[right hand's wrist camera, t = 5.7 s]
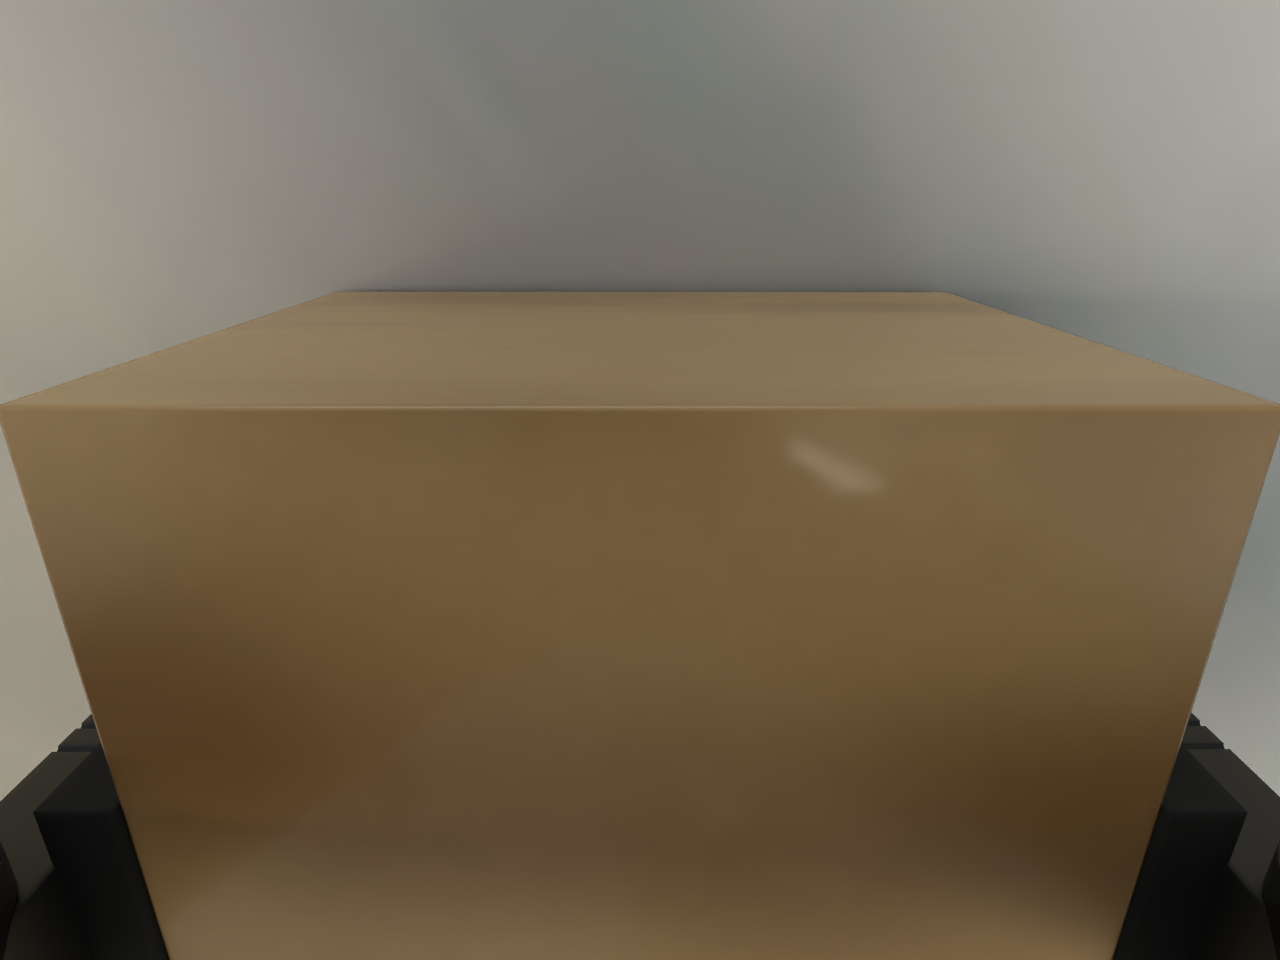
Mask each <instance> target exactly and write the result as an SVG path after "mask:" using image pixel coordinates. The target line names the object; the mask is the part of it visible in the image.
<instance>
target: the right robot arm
mask: <svg viewBox="0 0 1280 960" xmlns="http://www.w3.org/2000/svg"><path fill="white" fill-rule="evenodd" d="M1223 744H1224V743H1223V742H1221V741H1220V740H1219V739H1218V738H1217V737H1216V736H1215V735H1214V734H1213V733H1212V732H1211V731H1210V730H1209V729H1208V728H1207V727H1206V726H1201V725H1200V721H1199V720H1198V719H1197V718H1196V717H1195V716H1194V715H1193V714H1192V713H1191V714H1190V717H1189V720H1188V723H1187V726H1186V729H1185V733H1184V736H1183V739H1182V742H1181V745H1180V748H1179V752H1178V755H1177V758H1176V761H1175V764H1174V767H1173V770H1172V774H1171V777H1170V780H1169V783H1168V786H1167V789H1166V793H1165V796H1164V799H1163V802H1162V805H1161V808H1160V811H1159V815H1158V818H1157V821H1156V824H1155V827H1154V830H1153V833H1152V837H1151V840H1150V843H1149V846H1148V849H1147V852H1146V856H1145V859H1144V862H1143V865H1142V868H1141V871H1140V874H1139V878H1138V881H1137V884H1136V887H1135V890H1134V893H1133V897H1132V900H1131V903H1130V906H1129V909H1128V912H1127V915H1126V919H1125V922H1124V925H1123V928H1122V931H1121V934H1120V937H1119V941H1118V944H1117V947H1116V950H1115V953H1114V956H1113V960H1280V797H1279V796H1278V795H1277V794H1276V793H1275V792H1274V791H1273V790H1272V789H1271V788H1270V787H1269V786H1268V785H1267V784H1265V783H1264V782H1263V781H1262V780H1261V779H1260V778H1259V777H1258V776H1257V775H1256V774H1255V773H1254V772H1253V771H1252V770H1251V769H1250V768H1249V767H1248V766H1247V765H1246V764H1245V763H1243V762H1242V761H1241V760H1240V759H1239V758H1238V757H1237V756H1236V755H1235V754H1234V753H1233V752H1232V751H1231V750H1230V749H1224V746H1223ZM0 960H169V957H168V953H167V950H166V947H165V944H164V941H163V938H162V934H161V931H160V928H159V925H158V922H157V919H156V915H155V912H154V909H153V906H152V903H151V900H150V896H149V893H148V890H147V887H146V884H145V881H144V877H143V874H142V871H141V868H140V865H139V861H138V858H137V855H136V852H135V849H134V846H133V842H132V839H131V836H130V833H129V830H128V827H127V823H126V820H125V817H124V814H123V811H122V808H121V804H120V801H119V798H118V795H117V792H116V788H115V785H114V782H113V779H112V776H111V773H110V769H109V766H108V763H107V760H106V757H105V754H104V750H103V747H102V744H101V741H100V738H99V735H98V731H97V728H96V725H95V722H94V719H93V716H92V714H91V715H90V716H89V717H88V718H87V719H86V720H85V721H84V722H83V723H82V727H81V729H75V730H74V731H73V732H72V733H71V734H70V735H69V736H68V737H67V738H66V739H65V740H64V741H63V742H62V743H61V744H60V745H59V746H58V751H57V752H51V753H50V754H49V755H48V756H47V757H46V758H45V759H44V760H43V761H42V762H41V763H40V764H39V765H38V766H37V767H36V768H35V769H34V770H33V771H32V772H31V773H30V774H29V775H28V776H26V777H25V778H24V779H23V780H22V781H21V782H20V783H19V784H18V785H17V786H16V787H15V788H14V789H13V790H12V791H11V792H10V793H9V794H8V795H7V796H6V797H5V798H4V799H3V800H1V801H0Z"/></svg>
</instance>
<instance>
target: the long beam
mask: <svg viewBox="0 0 1280 960" xmlns="http://www.w3.org/2000/svg"><path fill="white" fill-rule="evenodd" d="M0 424H1V427H2V430H3V433H4V436H5V439H6V443H7V446H8V449H9V452H10V455H11V459H12V462H13V465H14V468H15V471H16V474H17V478H18V481H19V484H20V487H21V490H22V493H23V497H24V500H25V503H26V506H27V509H28V512H29V516H30V519H31V522H32V525H33V528H34V531H35V535H36V538H37V541H38V544H39V547H40V551H41V554H42V557H43V560H44V563H45V566H46V570H47V573H48V576H49V579H50V582H51V585H52V589H53V592H54V595H55V598H56V601H57V604H58V608H59V611H60V614H61V617H62V620H63V624H64V627H65V630H66V633H67V636H68V639H69V643H70V646H71V649H72V652H73V655H74V658H75V662H76V665H77V668H78V671H79V674H80V677H81V681H82V684H83V687H84V690H85V693H86V696H87V700H88V703H89V706H90V709H91V712H92V716H93V719H94V722H95V725H96V728H97V731H98V735H99V738H100V741H101V744H102V747H103V750H104V754H105V757H106V760H107V763H108V766H109V769H110V773H111V776H112V779H113V782H114V785H115V788H116V792H117V795H118V798H119V801H120V804H121V808H122V811H123V814H124V817H125V820H126V823H127V827H128V830H129V833H130V836H131V839H132V842H133V846H134V849H135V852H136V855H137V858H138V861H139V865H140V868H141V871H142V874H143V877H144V881H145V884H146V887H147V890H148V893H149V896H150V900H151V903H152V906H153V909H154V912H155V915H156V919H157V922H158V925H159V928H160V931H161V934H162V938H163V941H164V944H165V947H166V950H167V953H168V957H169V960H1113V956H1114V953H1115V950H1116V947H1117V944H1118V941H1119V937H1120V934H1121V931H1122V928H1123V925H1124V922H1125V919H1126V915H1127V912H1128V909H1129V906H1130V903H1131V900H1132V897H1133V893H1134V890H1135V887H1136V884H1137V881H1138V878H1139V874H1140V871H1141V868H1142V865H1143V862H1144V859H1145V856H1146V852H1147V849H1148V846H1149V843H1150V840H1151V837H1152V833H1153V830H1154V827H1155V824H1156V821H1157V818H1158V815H1159V811H1160V808H1161V805H1162V802H1163V799H1164V796H1165V793H1166V789H1167V786H1168V783H1169V780H1170V777H1171V774H1172V770H1173V767H1174V764H1175V761H1176V758H1177V755H1178V752H1179V748H1180V745H1181V742H1182V739H1183V736H1184V733H1185V729H1186V726H1187V723H1188V720H1189V717H1190V714H1191V711H1192V707H1193V704H1194V701H1195V698H1196V695H1197V692H1198V689H1199V685H1200V682H1201V679H1202V676H1203V673H1204V670H1205V666H1206V663H1207V660H1208V657H1209V654H1210V651H1211V648H1212V644H1213V641H1214V638H1215V635H1216V632H1217V629H1218V625H1219V622H1220V619H1221V616H1222V613H1223V610H1224V607H1225V603H1226V600H1227V597H1228V594H1229V591H1230V588H1231V585H1232V581H1233V578H1234V575H1235V572H1236V569H1237V566H1238V562H1239V559H1240V556H1241V553H1242V550H1243V547H1244V544H1245V540H1246V537H1247V534H1248V531H1249V528H1250V525H1251V521H1252V518H1253V515H1254V512H1255V509H1256V506H1257V503H1258V499H1259V496H1260V493H1261V490H1262V487H1263V484H1264V481H1265V477H1266V474H1267V471H1268V468H1269V465H1270V462H1271V458H1272V455H1273V452H1274V449H1275V446H1276V443H1277V440H1278V436H1279V433H1280V404H1277V403H1274V402H1271V401H1268V400H1265V399H1262V398H1259V397H1256V396H1253V395H1250V394H1248V393H1245V392H1242V391H1239V390H1236V389H1233V388H1230V387H1227V386H1224V385H1221V384H1218V383H1215V382H1212V381H1209V380H1206V379H1203V378H1200V377H1197V376H1194V375H1191V374H1188V373H1185V372H1182V371H1179V370H1176V369H1173V368H1170V367H1167V366H1164V365H1161V364H1158V363H1155V362H1152V361H1149V360H1146V359H1143V358H1140V357H1137V356H1134V355H1132V354H1129V353H1126V352H1123V351H1120V350H1117V349H1114V348H1111V347H1108V346H1105V345H1102V344H1099V343H1096V342H1093V341H1090V340H1087V339H1084V338H1081V337H1078V336H1075V335H1072V334H1069V333H1066V332H1063V331H1060V330H1057V329H1054V328H1051V327H1048V326H1045V325H1042V324H1039V323H1036V322H1033V321H1030V320H1027V319H1024V318H1021V317H1019V316H1016V315H1013V314H1010V313H1007V312H1004V311H1001V310H998V309H995V308H992V307H989V306H986V305H983V304H980V303H977V302H974V301H971V300H968V299H965V298H962V297H959V296H956V295H953V294H950V293H947V292H334V293H331V294H328V295H325V296H322V297H319V298H316V299H313V300H310V301H307V302H304V303H301V304H298V305H295V306H292V307H289V308H286V309H283V310H280V311H277V312H274V313H272V314H269V315H266V316H263V317H260V318H257V319H254V320H251V321H248V322H245V323H242V324H239V325H236V326H233V327H230V328H227V329H224V330H221V331H218V332H215V333H212V334H209V335H206V336H203V337H200V338H197V339H194V340H191V341H188V342H185V343H182V344H179V345H176V346H173V347H170V348H167V349H165V350H162V351H159V352H156V353H153V354H150V355H147V356H144V357H141V358H138V359H135V360H132V361H129V362H126V363H123V364H120V365H117V366H114V367H111V368H108V369H105V370H102V371H99V372H96V373H93V374H90V375H87V376H84V377H81V378H78V379H75V380H72V381H69V382H66V383H63V384H61V385H58V386H55V387H52V388H49V389H46V390H43V391H40V392H37V393H34V394H31V395H28V396H25V397H22V398H19V399H16V400H13V401H10V402H7V403H4V404H2V405H0Z"/></svg>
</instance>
